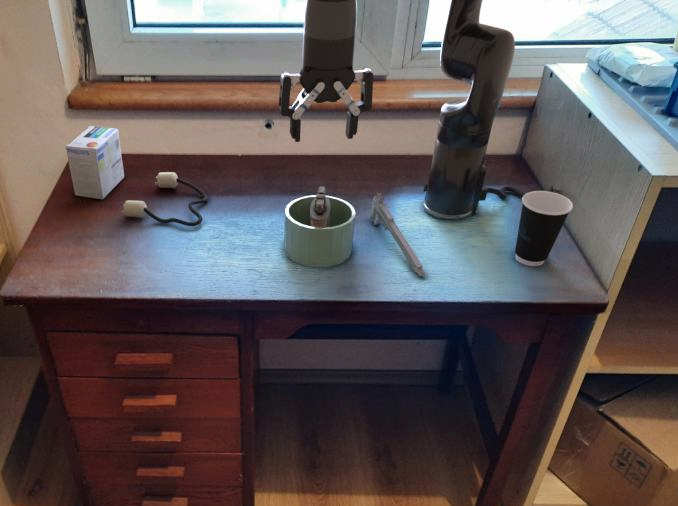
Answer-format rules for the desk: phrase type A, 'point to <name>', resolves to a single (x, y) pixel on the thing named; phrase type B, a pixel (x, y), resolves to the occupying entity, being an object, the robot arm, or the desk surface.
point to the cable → (164, 182)
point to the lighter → (320, 210)
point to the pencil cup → (318, 233)
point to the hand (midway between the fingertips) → (323, 138)
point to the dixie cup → (540, 225)
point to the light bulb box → (95, 162)
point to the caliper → (394, 231)
